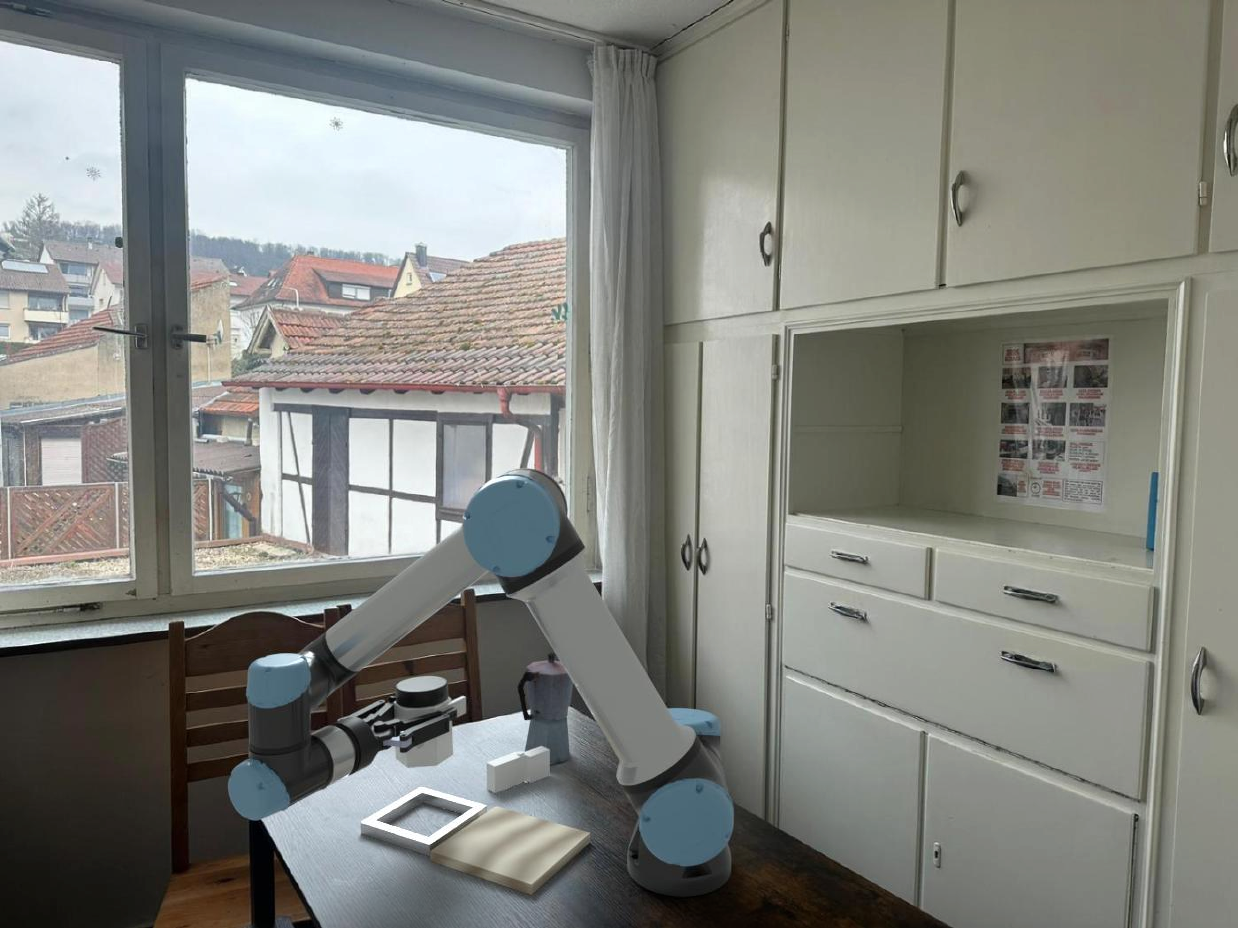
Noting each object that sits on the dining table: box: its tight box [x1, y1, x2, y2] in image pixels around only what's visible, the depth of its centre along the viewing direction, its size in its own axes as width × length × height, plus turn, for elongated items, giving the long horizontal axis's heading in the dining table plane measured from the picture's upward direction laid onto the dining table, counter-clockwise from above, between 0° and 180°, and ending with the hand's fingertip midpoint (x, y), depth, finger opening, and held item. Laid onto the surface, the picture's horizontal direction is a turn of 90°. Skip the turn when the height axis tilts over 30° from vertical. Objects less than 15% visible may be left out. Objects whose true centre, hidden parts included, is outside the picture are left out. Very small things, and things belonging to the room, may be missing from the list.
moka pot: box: [517, 652, 574, 765], centre depth 162 cm, size 10×15×20 cm, turn 148°
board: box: [429, 805, 591, 896], centre depth 129 cm, size 18×16×2 cm
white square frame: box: [360, 786, 488, 857], centre depth 137 cm, size 14×14×2 cm
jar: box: [394, 675, 454, 769], centre depth 135 cm, size 9×8×12 cm
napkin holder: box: [486, 746, 551, 794], centre depth 152 cm, size 15×11×6 cm
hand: (445, 700), depth 140 cm, fingers closed on jar, 7 cm apart
